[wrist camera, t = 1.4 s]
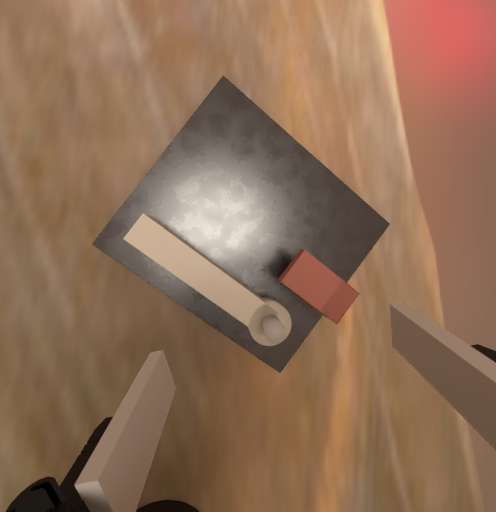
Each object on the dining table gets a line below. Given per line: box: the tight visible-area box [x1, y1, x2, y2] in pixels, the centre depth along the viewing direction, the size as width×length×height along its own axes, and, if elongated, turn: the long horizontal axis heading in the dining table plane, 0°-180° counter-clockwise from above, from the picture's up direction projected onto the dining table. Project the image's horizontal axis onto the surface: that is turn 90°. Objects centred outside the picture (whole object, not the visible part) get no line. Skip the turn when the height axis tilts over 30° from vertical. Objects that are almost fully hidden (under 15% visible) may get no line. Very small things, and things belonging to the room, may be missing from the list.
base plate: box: [92, 76, 390, 373], centre depth 38 cm, size 30×34×2 cm
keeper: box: [278, 249, 360, 324], centre depth 35 cm, size 5×10×8 cm, turn 53°
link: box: [123, 213, 292, 346], centre depth 33 cm, size 25×6×7 cm, turn 52°
